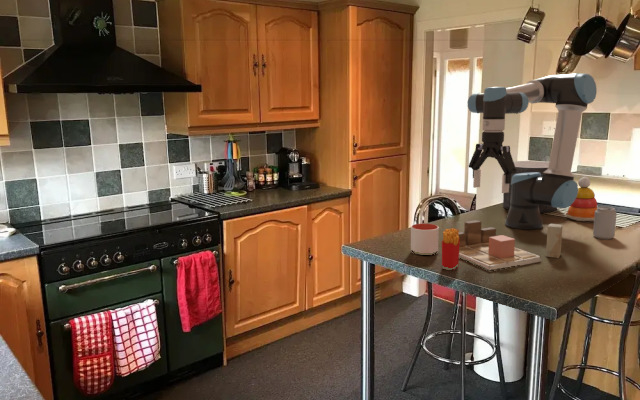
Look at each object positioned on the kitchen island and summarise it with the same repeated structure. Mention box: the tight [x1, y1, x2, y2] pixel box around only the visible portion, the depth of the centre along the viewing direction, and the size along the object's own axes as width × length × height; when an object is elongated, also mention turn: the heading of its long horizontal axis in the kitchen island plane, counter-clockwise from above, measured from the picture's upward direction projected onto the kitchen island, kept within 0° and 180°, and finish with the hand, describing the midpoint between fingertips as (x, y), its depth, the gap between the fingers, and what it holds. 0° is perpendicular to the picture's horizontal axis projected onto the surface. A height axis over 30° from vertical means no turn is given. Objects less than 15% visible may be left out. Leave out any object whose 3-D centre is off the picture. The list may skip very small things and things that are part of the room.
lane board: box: [459, 244, 542, 270], centre depth 184 cm, size 24×22×2 cm
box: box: [545, 223, 563, 259], centre depth 182 cm, size 5×4×11 cm
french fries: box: [441, 227, 460, 268], centre depth 173 cm, size 9×4×13 cm, turn 143°
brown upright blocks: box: [463, 219, 519, 262], centre depth 183 cm, size 22×6×10 cm, turn 23°
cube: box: [488, 234, 516, 258], centre depth 179 cm, size 6×6×6 cm
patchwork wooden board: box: [459, 227, 536, 265], centre depth 184 cm, size 22×20×6 cm
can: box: [592, 206, 618, 240], centre depth 203 cm, size 8×8×12 cm
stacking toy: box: [565, 176, 598, 222], centre depth 231 cm, size 14×14×20 cm
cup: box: [410, 223, 440, 253], centre depth 190 cm, size 10×10×10 cm
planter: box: [502, 160, 558, 214], centre depth 256 cm, size 25×25×22 cm
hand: (490, 189), depth 188 cm, fingers open, 13 cm apart
